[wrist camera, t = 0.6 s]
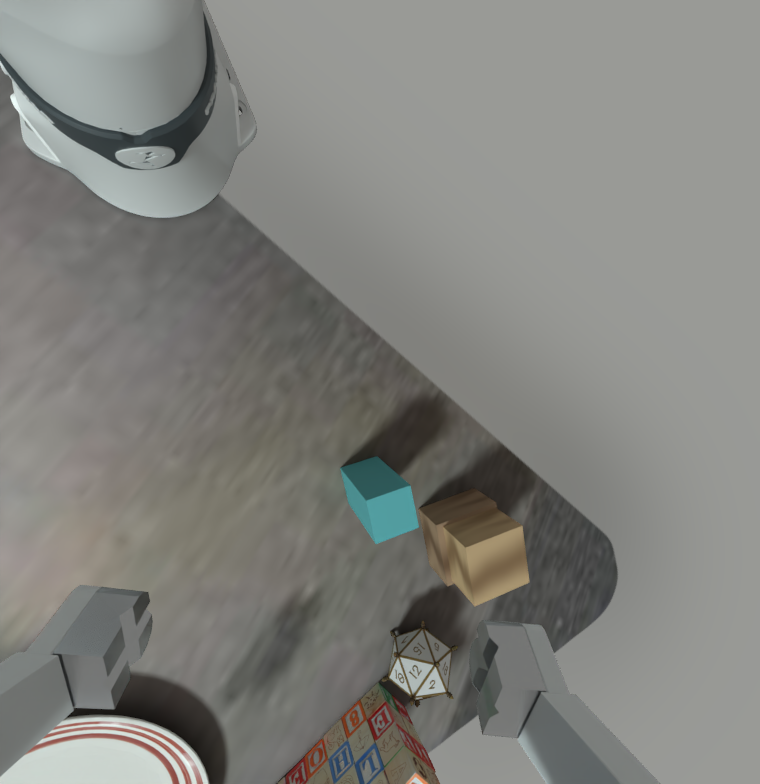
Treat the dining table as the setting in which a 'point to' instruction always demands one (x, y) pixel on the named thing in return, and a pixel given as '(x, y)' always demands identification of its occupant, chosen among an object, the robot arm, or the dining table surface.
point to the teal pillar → (379, 498)
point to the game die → (420, 664)
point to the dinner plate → (108, 755)
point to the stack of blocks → (368, 748)
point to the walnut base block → (444, 515)
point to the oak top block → (486, 555)
